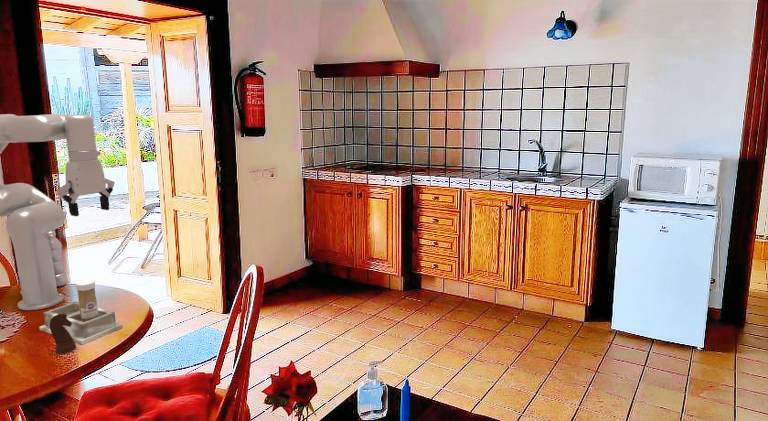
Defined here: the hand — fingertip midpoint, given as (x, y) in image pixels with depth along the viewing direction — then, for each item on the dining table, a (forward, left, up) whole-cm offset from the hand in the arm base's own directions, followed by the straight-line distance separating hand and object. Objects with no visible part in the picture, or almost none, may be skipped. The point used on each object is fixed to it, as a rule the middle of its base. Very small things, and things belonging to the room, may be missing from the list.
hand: (90, 212), depth 165 cm
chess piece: (+20, -24, -31) cm, 44 cm away
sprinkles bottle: (+15, -14, -29) cm, 36 cm away
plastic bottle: (-32, +4, -30) cm, 44 cm away
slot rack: (+11, -14, -30) cm, 35 cm away
